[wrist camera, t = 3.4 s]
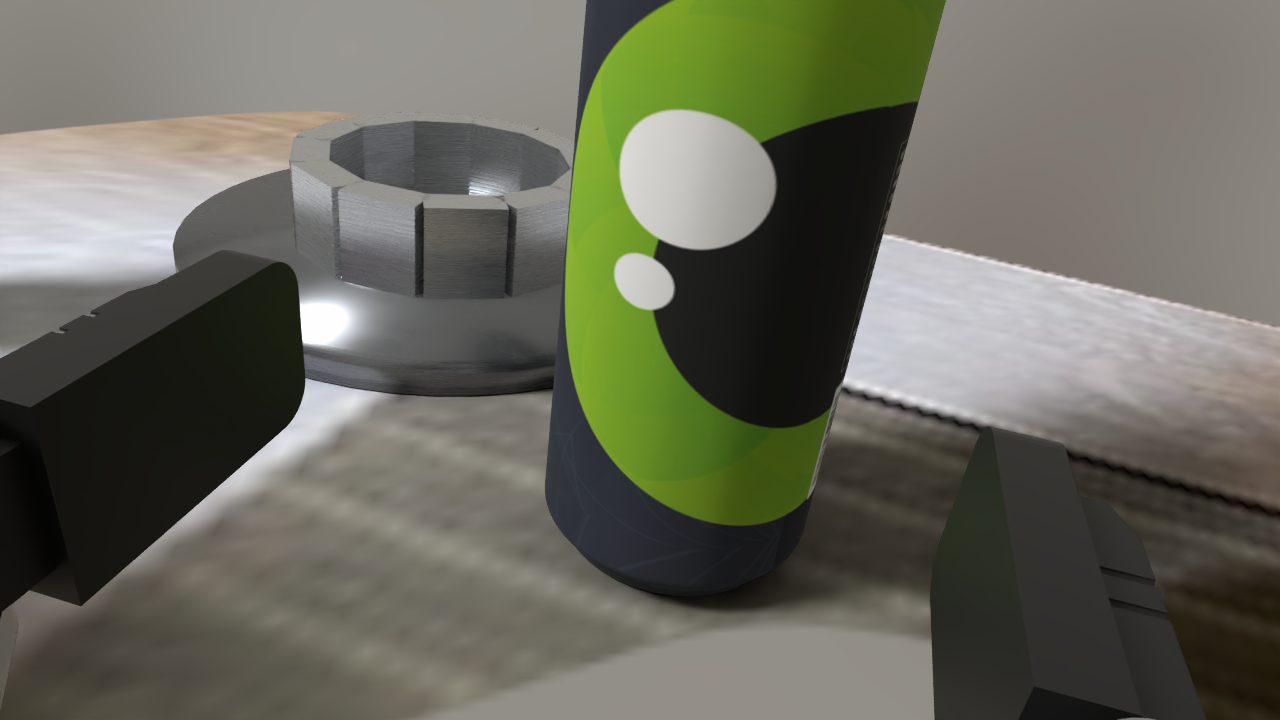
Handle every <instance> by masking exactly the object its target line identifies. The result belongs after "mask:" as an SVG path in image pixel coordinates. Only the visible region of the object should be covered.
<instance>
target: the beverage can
mask: <svg viewBox="0 0 1280 720" xmlns="http://www.w3.org/2000/svg"><path fill="white" fill-rule="evenodd" d="M945 2H946V0H587V4H586V15H585V26H584V38H583V50H582V61H581V73H580V84H579V96H578V108H577V119H576V131H575V142H574V154H573V165H572V177H571V189H570V200H569V212H568V224H567V235H566V247H565V258H564V270H563V282H562V293H561V305H560V317H559V328H558V340H557V351H556V363H555V375H554V386H553V398H552V409H551V421H550V433H549V444H548V456H547V468H546V479H545V495H546V501H547V505H548V508H549V511H550V513H551V516H552V518H553V520H554V521H555V523H556V525H557V526H558V528H559V529H560V530H561V532H562V533H563V534H564V536H565V537H566V538H567V539H568V540H569V541H570V542H571V543H572V544H573V545H574V546H575V547H576V548H577V549H578V551H579V552H580V553H581V554H582V555H583V556H584V557H585V558H586V559H587V560H588V561H589V562H590V563H592V564H593V565H594V566H595V567H597V568H598V569H600V570H601V571H602V572H604V573H606V574H607V575H609V576H611V577H613V578H615V579H616V580H619V581H621V582H623V583H625V584H628V585H630V586H633V587H636V588H639V589H642V590H646V591H649V592H654V593H659V594H665V595H673V596H704V595H711V594H717V593H721V592H725V591H728V590H732V589H734V588H737V587H739V586H741V585H744V584H746V583H747V582H749V581H751V580H753V579H756V578H758V577H760V576H762V575H764V574H766V573H768V572H770V571H771V570H773V569H774V568H776V567H777V566H778V565H780V564H781V563H782V562H783V561H784V560H785V559H786V558H787V557H788V556H789V555H790V554H791V553H792V551H793V550H794V549H795V547H796V545H797V544H798V542H799V540H800V538H801V535H802V532H803V529H804V525H805V521H806V518H807V514H808V510H809V507H810V503H811V499H812V495H813V492H814V488H815V484H816V481H817V477H818V473H819V469H820V466H821V462H822V458H823V455H824V451H825V447H826V443H827V440H828V436H829V432H830V429H831V425H832V421H833V417H834V414H835V410H836V406H837V403H838V399H839V395H840V391H841V388H842V384H843V380H844V377H845V373H846V369H847V366H848V362H849V358H850V354H851V351H852V347H853V343H854V340H855V336H856V332H857V328H858V325H859V321H860V317H861V314H862V310H863V306H864V302H865V299H866V295H867V291H868V288H869V284H870V280H871V276H872V273H873V269H874V265H875V262H876V258H877V254H878V250H879V247H880V243H881V239H882V236H883V232H884V228H885V224H886V221H887V217H888V213H889V210H890V206H891V202H892V198H893V195H894V191H895V187H896V184H897V180H898V176H899V172H900V169H901V165H902V161H903V158H904V154H905V150H906V146H907V143H908V139H909V135H910V132H911V128H912V124H913V121H914V117H915V113H916V109H917V106H918V102H919V98H920V95H921V91H922V87H923V83H924V80H925V76H926V72H927V69H928V65H929V61H930V57H931V54H932V50H933V46H934V43H935V39H936V35H937V31H938V28H939V24H940V20H941V17H942V13H943V9H944V5H945Z"/></svg>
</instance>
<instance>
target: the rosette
mask: <svg viewBox="0 0 1280 720" xmlns="http://www.w3.org/2000/svg"><path fill="white" fill-rule="evenodd" d="M296 136H297V137H294V139H293V144H292V149H291V154H290V159H289V165H290V169H287V170H283V171H278V172H274V173H271V174H267V175H264V176H260V177H257V178H254V179H251V180H248V181H245V182H243V183H240V184H238V185H235V186H232V187H230V188H228V189H226V190H224V191H222V192H220V193H218V194H216V195H214V196H212V197H211V198H209V199H208V200H206V201H205V202H203V203H202V204H200V205H199V206H197V207H196V208H195V209H194V210H193V211H192V212H191V213H190V214H189V215H188V216H187V217H186V218H185V219H184V220H183V222H182V224H181V225H180V227H179V228H178V230H177V232H176V235H175V239H174V243H173V251H174V259H175V266H176V273H178V272H180V271H182V270H184V269H185V268H187V267H189V266H191V265H193V264H195V263H197V262H199V261H201V260H202V259H204V258H206V257H208V256H210V255H212V254H214V253H216V252H218V251H221V250H232V251H236V252H240V253H245V254H249V255H254V256H258V257H262V258H267V259H271V260H275V261H280V262H284V263H286V264H288V265H289V266H290V267H291V268H292V269H293V271H294V272H295V275H296V277H297V281H298V287H299V299H300V312H301V326H302V339H303V352H304V365H305V377H307V378H310V379H315V380H319V381H324V382H329V383H333V384H338V385H343V386H347V387H353V388H360V389H368V390H375V391H382V392H390V393H403V394H418V395H434V396H452V395H489V394H503V393H516V392H523V391H530V390H537V389H544V388H551V387H553V386H554V375H555V363H556V351H557V340H558V328H559V317H560V305H561V293H562V282H563V270H564V258H565V247H566V235H567V224H568V212H569V200H570V189H571V177H572V165H573V154H574V142H573V141H571V140H569V139H566V138H564V137H561V136H559V135H557V134H554V133H552V132H550V131H547V130H545V129H541V130H538V127H533V126H528V125H523V124H518V123H513V122H508V121H502V120H498V119H492V118H487V117H482V116H478V117H476V118H475V119H474V118H473V116H472V115H459V114H439V113H420V112H419V113H418V112H408V115H406V114H404V113H401V112H396V113H387V114H377V115H367V116H358V117H348V118H342V121H341V120H333V121H331V122H328V123H326V124H323V125H321V126H318V127H316V128H313V129H311V130H308V131H306V132H303V133H301V134H298V135H296Z"/></svg>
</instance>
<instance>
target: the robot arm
mask: <svg viewBox="0 0 1280 720" xmlns="http://www.w3.org/2000/svg"><path fill="white" fill-rule="evenodd" d="M304 389H305V365H304V352H303V339H302V326H301V312H300V299H299V287H298V281H297V277H296V275H295V272H294V271H293V269H292V268H291V267H290V266H289V265H288V264H286V263H284V262H280V261H275V260H271V259H267V258H262V257H258V256H254V255H249V254H245V253H240V252H236V251H232V250H221V251H218V252H216V253H214V254H212V255H210V256H208V257H206V258H204V259H202V260H201V261H199V262H197V263H195V264H193V265H191V266H189V267H187V268H185V269H184V270H182V271H180V272H178V273H176V274H174V275H172V276H170V277H168V278H167V279H165V280H163V281H161V282H159V283H157V284H155V285H151V286H147V287H144V288H140V289H137V290H133V291H129V292H127V293H125V294H123V295H121V296H119V297H117V298H115V299H113V300H112V301H110V302H108V303H106V304H104V305H102V306H100V307H98V308H96V309H94V310H92V311H91V314H90V316H89V317H88V316H84V315H83V316H81V317H79V318H77V319H75V320H73V321H71V322H69V323H67V324H65V325H64V326H62V327H60V330H59V332H58V333H55V332H50V333H48V334H46V335H44V336H42V337H41V338H39V339H37V340H35V341H33V342H31V343H29V344H27V345H25V346H23V347H21V348H19V349H18V350H16V351H14V352H12V353H10V354H8V355H6V356H4V357H2V358H0V709H1V705H2V700H3V696H4V691H5V687H6V682H7V677H8V673H9V668H10V664H11V659H12V655H13V650H14V646H15V641H16V636H17V631H18V622H17V617H16V614H15V611H14V607H13V603H14V602H15V601H16V600H18V599H19V598H20V597H21V596H23V595H24V594H25V593H26V592H28V591H29V590H31V591H34V592H37V593H40V594H43V595H47V596H50V597H53V598H56V599H59V600H63V601H66V602H69V603H72V604H75V605H79V606H82V605H83V604H84V603H85V602H86V601H88V600H89V599H90V598H91V597H92V596H93V595H94V594H96V593H97V592H98V591H99V590H100V589H101V588H103V587H104V586H105V585H106V584H107V583H108V582H109V581H111V580H112V579H113V578H114V577H115V576H116V575H117V574H119V573H120V572H121V571H122V570H123V569H124V568H125V567H127V566H128V565H129V564H130V563H131V562H132V561H133V560H135V559H136V558H137V557H138V556H139V555H140V554H141V553H143V552H144V551H145V550H146V549H147V548H148V547H149V546H151V545H152V544H153V543H154V542H155V541H156V540H157V539H159V538H160V537H161V536H162V535H163V534H164V533H165V532H167V531H168V530H169V529H170V528H171V527H172V526H173V525H175V524H176V523H177V522H178V521H179V520H180V519H182V518H183V517H184V516H185V515H186V514H187V513H188V512H190V511H191V510H192V509H193V508H194V507H195V506H196V505H198V504H199V503H200V502H201V501H202V500H203V499H204V498H206V497H207V496H208V495H209V494H210V493H211V492H212V491H214V490H215V489H216V488H217V487H218V486H219V485H220V484H222V483H223V482H224V481H225V480H226V479H227V478H228V477H230V476H231V475H232V474H233V473H234V472H235V471H236V470H238V469H239V468H240V467H241V466H242V465H243V464H244V463H246V462H247V461H248V460H249V459H250V458H251V457H252V456H254V455H255V454H256V453H257V452H258V451H259V450H261V449H262V448H263V447H264V446H265V445H266V444H267V443H269V442H270V441H271V440H272V439H273V438H274V437H275V436H277V435H278V434H279V433H280V432H281V431H282V430H283V429H285V428H286V427H287V426H288V425H289V423H290V422H291V421H292V419H293V418H294V416H295V415H296V413H297V411H298V409H299V406H300V404H301V401H302V398H303V394H304ZM1154 582H1155V577H1154V575H1153V572H1152V569H1151V566H1150V564H1149V561H1148V558H1147V555H1146V553H1145V550H1144V547H1143V544H1142V542H1141V540H1140V539H1139V538H1138V537H1137V536H1136V535H1135V533H1134V532H1133V531H1132V530H1131V529H1130V528H1129V527H1128V526H1127V524H1126V523H1125V522H1124V521H1123V520H1122V519H1121V518H1120V517H1119V515H1118V514H1117V513H1116V512H1115V511H1114V510H1113V509H1112V508H1111V507H1110V505H1109V504H1108V503H1105V502H1101V501H1096V500H1092V499H1088V498H1084V497H1080V496H1079V494H1078V490H1077V487H1076V483H1075V480H1074V476H1073V473H1072V469H1071V466H1070V462H1069V459H1068V455H1067V452H1066V449H1065V447H1064V445H1063V444H1061V443H1059V442H1054V441H1050V440H1046V439H1041V438H1037V437H1033V436H1028V435H1024V434H1020V433H1015V432H1011V431H1007V430H1002V429H998V428H994V427H989V426H988V427H986V428H985V429H984V430H983V431H982V433H981V434H980V436H979V438H978V440H977V442H976V445H975V448H974V450H973V453H972V456H971V458H970V461H969V464H968V467H967V469H966V472H965V475H964V477H963V480H962V483H961V486H960V488H959V491H958V494H957V496H956V499H955V502H954V505H953V507H952V510H951V513H950V516H949V518H948V521H947V524H946V526H945V529H944V532H943V535H942V537H941V540H940V543H939V547H938V550H937V554H936V558H935V563H934V568H933V573H932V580H931V591H930V607H931V634H932V657H933V658H932V659H933V660H932V661H933V687H934V714H935V720H1206V718H1205V715H1204V712H1203V709H1202V707H1201V704H1200V701H1199V698H1198V696H1197V693H1196V690H1195V687H1194V685H1193V682H1192V679H1191V676H1190V674H1189V671H1188V668H1187V665H1186V663H1185V660H1184V657H1183V654H1182V652H1181V649H1180V646H1179V643H1178V641H1177V638H1176V635H1175V632H1174V630H1173V627H1172V624H1171V621H1167V620H1166V615H1167V610H1166V608H1165V605H1164V602H1163V599H1162V597H1161V594H1160V591H1159V588H1157V587H1154Z"/></svg>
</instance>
